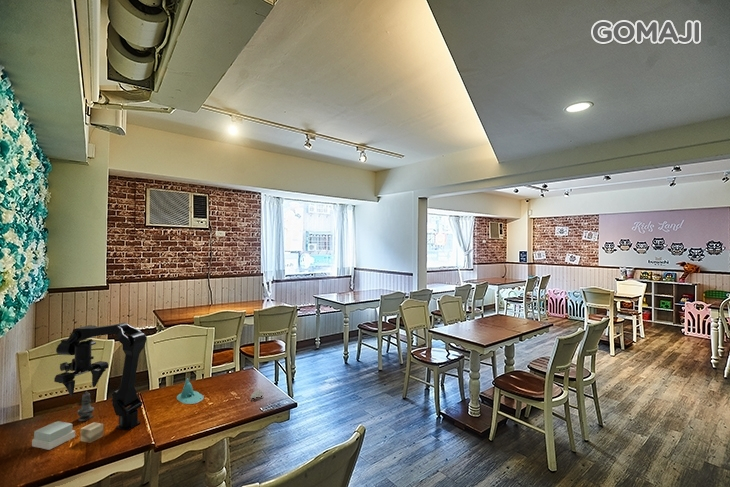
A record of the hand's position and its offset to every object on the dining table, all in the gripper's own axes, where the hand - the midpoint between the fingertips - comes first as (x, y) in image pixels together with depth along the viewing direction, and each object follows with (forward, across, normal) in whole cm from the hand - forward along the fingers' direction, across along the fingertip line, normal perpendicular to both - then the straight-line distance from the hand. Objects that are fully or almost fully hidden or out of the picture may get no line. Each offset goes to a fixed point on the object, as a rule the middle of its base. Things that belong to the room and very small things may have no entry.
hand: (82, 391), depth 148 cm
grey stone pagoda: (+13, -3, -2) cm, 14 cm away
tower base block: (+14, +14, +5) cm, 21 cm away
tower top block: (+11, +14, +5) cm, 19 cm away
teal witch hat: (+15, -33, +26) cm, 45 cm away
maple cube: (+14, +9, +17) cm, 24 cm away
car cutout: (+16, -40, +56) cm, 71 cm away
